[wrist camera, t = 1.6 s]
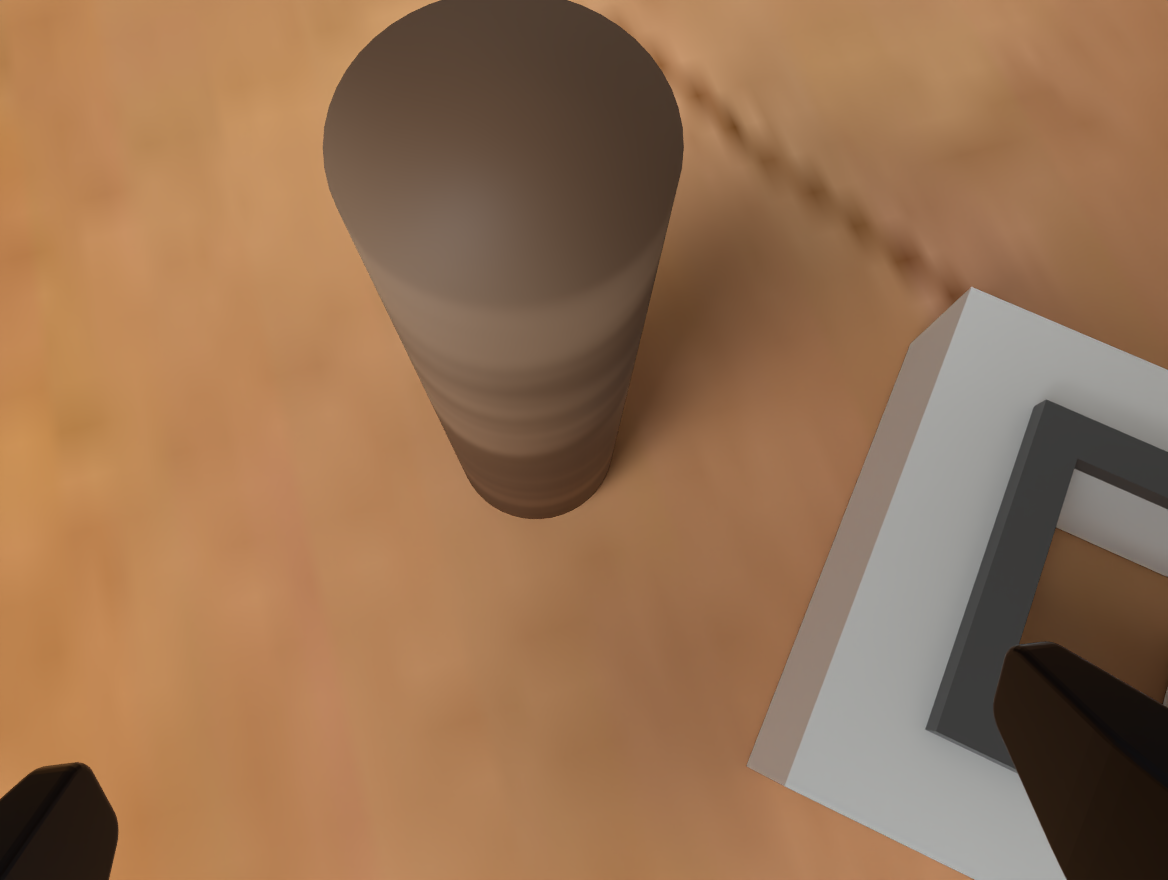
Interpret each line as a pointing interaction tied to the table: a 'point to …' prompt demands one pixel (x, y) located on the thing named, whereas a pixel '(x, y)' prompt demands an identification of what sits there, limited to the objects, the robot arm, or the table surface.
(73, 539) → the table surface
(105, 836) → the robot arm
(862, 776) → the socket block
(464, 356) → the walnut peg
